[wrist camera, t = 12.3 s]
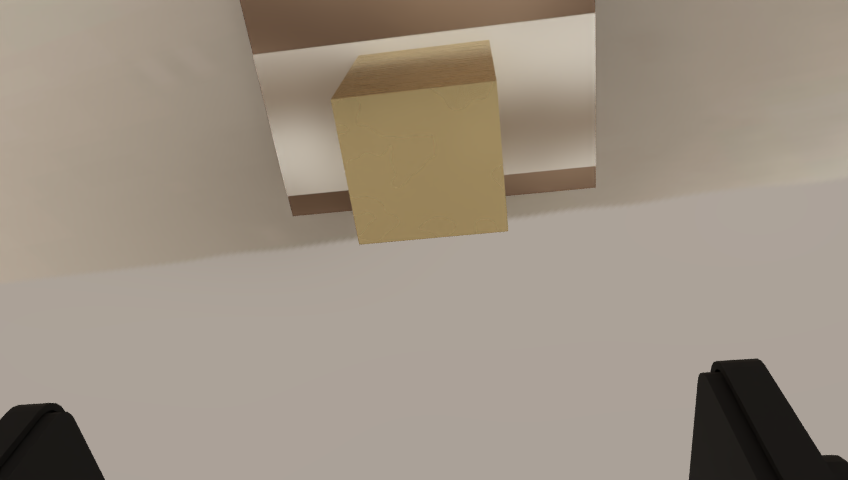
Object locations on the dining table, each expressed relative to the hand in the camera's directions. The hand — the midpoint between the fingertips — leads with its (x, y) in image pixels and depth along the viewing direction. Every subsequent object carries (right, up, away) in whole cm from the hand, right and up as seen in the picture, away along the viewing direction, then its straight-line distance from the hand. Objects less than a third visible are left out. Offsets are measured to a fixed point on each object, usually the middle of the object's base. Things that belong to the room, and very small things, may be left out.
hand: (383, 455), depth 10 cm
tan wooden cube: (+1, +8, +16) cm, 18 cm away
